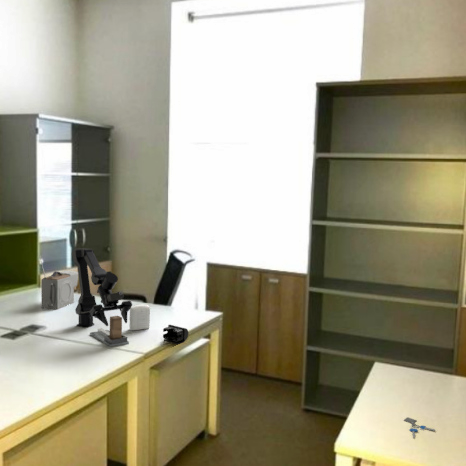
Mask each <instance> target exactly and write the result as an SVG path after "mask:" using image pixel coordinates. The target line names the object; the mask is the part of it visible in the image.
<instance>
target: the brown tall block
mask: <svg viewBox="0 0 466 466" xmlns="http://www.w3.org/2000/svg"><path fill="white" fill-rule="evenodd" d="M122 327H123V317H122V316H121V315H114V316H109V331H110V338H111V339H117V338H122V335H123V332H122V331H123V328H122Z"/></svg>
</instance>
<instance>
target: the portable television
mask: <svg viewBox="0 0 466 466" xmlns="http://www.w3.org/2000/svg"><path fill="white" fill-rule="evenodd" d="M39 258H40V263H41V267H42V270H43V271H42V272H43V275H44V277H43V278H41V279H40V281H41V282H40V283H41V289H40V290H41V294H40V295H41V309H48V310H55V311H56V310H57V311H58V310H60V309H63V308H65V307H67V305H68V306H69V304H70V305H72V304H74V303H75V287H77V286H78V283H79V282H78V281H79V275H78V271H75V270H73V271H72V270H62V271H54V272H53V273H52V274H51V275H50V276H46V272H45V269H44V265H43V261H42V257H41V256H39Z"/></svg>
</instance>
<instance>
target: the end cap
mask: <svg viewBox="0 0 466 466" xmlns="http://www.w3.org/2000/svg"><path fill="white" fill-rule="evenodd" d="M162 332H164V333H163V335H162V338H163V341H164V342H167V343H170V344H174V345H180V344H183V343H185V342H186V341H187V340H188V337H189V331H188V329H187V328H185V327H181V326H177V325H175V324H168V326H167V327H164V328H163V329H162ZM165 332H166V333H165Z"/></svg>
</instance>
